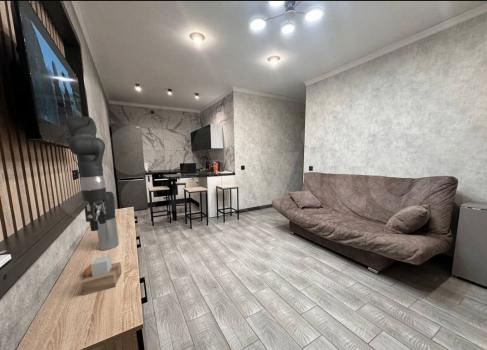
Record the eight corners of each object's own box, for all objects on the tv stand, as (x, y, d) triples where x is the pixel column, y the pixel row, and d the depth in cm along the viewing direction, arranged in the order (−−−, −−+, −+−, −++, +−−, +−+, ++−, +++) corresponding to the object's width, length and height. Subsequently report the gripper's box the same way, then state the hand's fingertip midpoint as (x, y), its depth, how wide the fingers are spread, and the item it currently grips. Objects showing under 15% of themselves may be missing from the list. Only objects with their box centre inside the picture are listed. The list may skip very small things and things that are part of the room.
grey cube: (97, 269, 74) (96, 258, 74) (111, 266, 76) (110, 255, 75) (92, 276, 69) (90, 264, 69) (108, 273, 71) (106, 261, 71)
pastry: (99, 276, 78) (98, 268, 77) (80, 282, 75) (78, 273, 74) (105, 266, 86) (104, 258, 86) (87, 270, 83) (86, 262, 83)
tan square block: (94, 279, 76) (92, 268, 75) (121, 272, 79) (120, 262, 79) (83, 295, 66) (81, 282, 66) (115, 286, 70) (113, 274, 70)
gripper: (89, 186, 76) (94, 223, 78) (72, 191, 63) (79, 235, 65) (110, 184, 79) (115, 220, 80) (98, 189, 66) (104, 231, 67)
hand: (99, 226), depth 73 cm, fingers open, 8 cm apart
